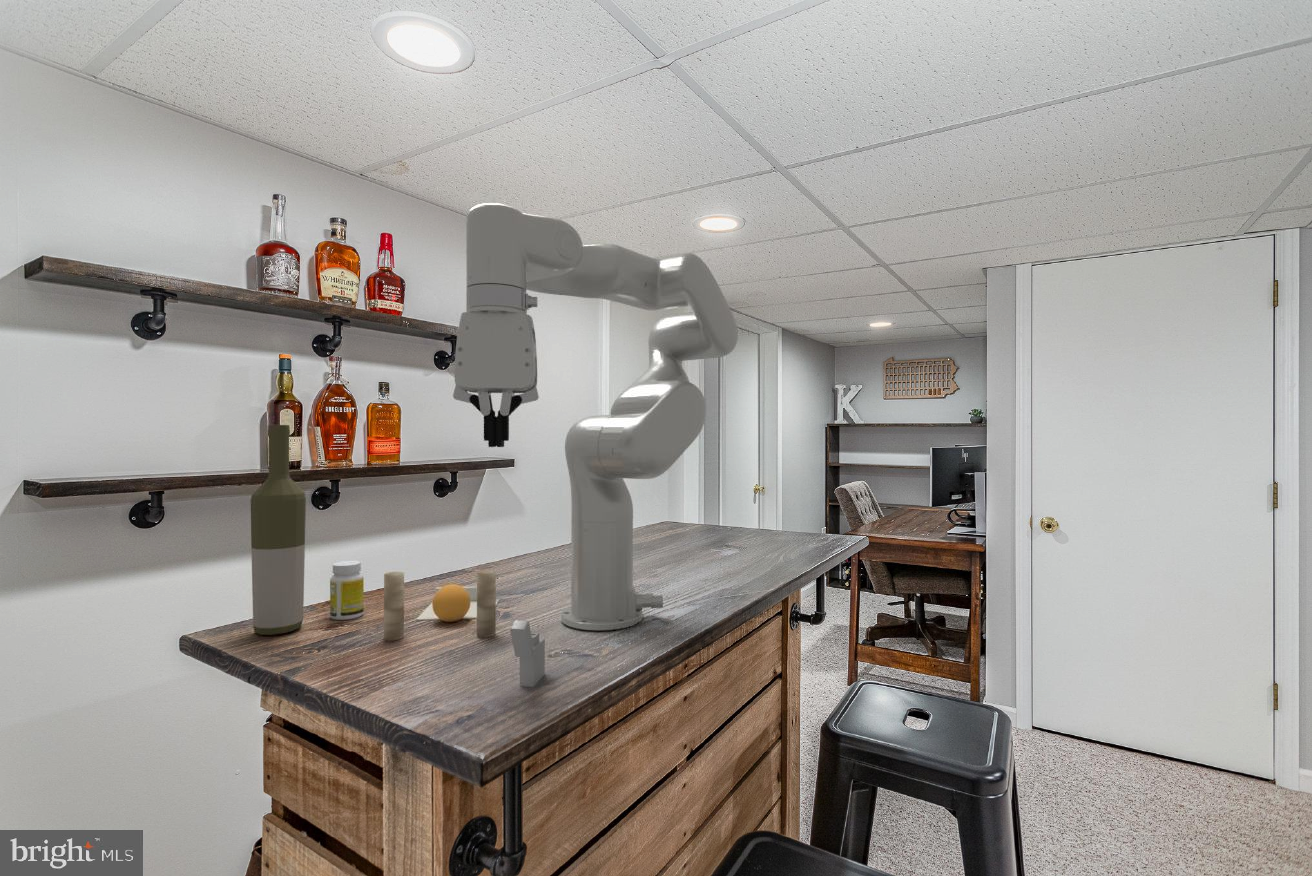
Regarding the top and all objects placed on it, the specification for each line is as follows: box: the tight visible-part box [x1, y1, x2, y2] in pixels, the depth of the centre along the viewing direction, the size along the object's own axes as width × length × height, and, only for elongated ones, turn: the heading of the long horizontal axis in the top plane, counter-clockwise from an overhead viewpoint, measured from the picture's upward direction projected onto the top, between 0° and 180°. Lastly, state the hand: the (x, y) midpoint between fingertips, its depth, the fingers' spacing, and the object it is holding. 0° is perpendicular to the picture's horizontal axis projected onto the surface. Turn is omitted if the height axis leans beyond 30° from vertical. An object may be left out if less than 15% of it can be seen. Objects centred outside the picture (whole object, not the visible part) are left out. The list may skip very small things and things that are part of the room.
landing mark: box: [415, 598, 500, 621], centre depth 104 cm, size 11×11×1 cm
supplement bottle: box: [329, 560, 365, 621], centre depth 101 cm, size 5×5×8 cm
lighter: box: [509, 619, 546, 688], centre depth 73 cm, size 7×2×8 cm, turn 172°
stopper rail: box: [434, 585, 477, 601], centre depth 109 cm, size 10×1×2 cm, turn 96°
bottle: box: [250, 424, 307, 636], centre depth 93 cm, size 7×7×30 cm
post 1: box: [383, 571, 405, 642], centre depth 90 cm, size 3×3×9 cm
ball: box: [431, 583, 471, 623], centre depth 98 cm, size 6×6×6 cm
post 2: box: [476, 569, 497, 639], centre depth 91 cm, size 3×3×9 cm
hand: (496, 446), depth 82 cm, fingers closed
